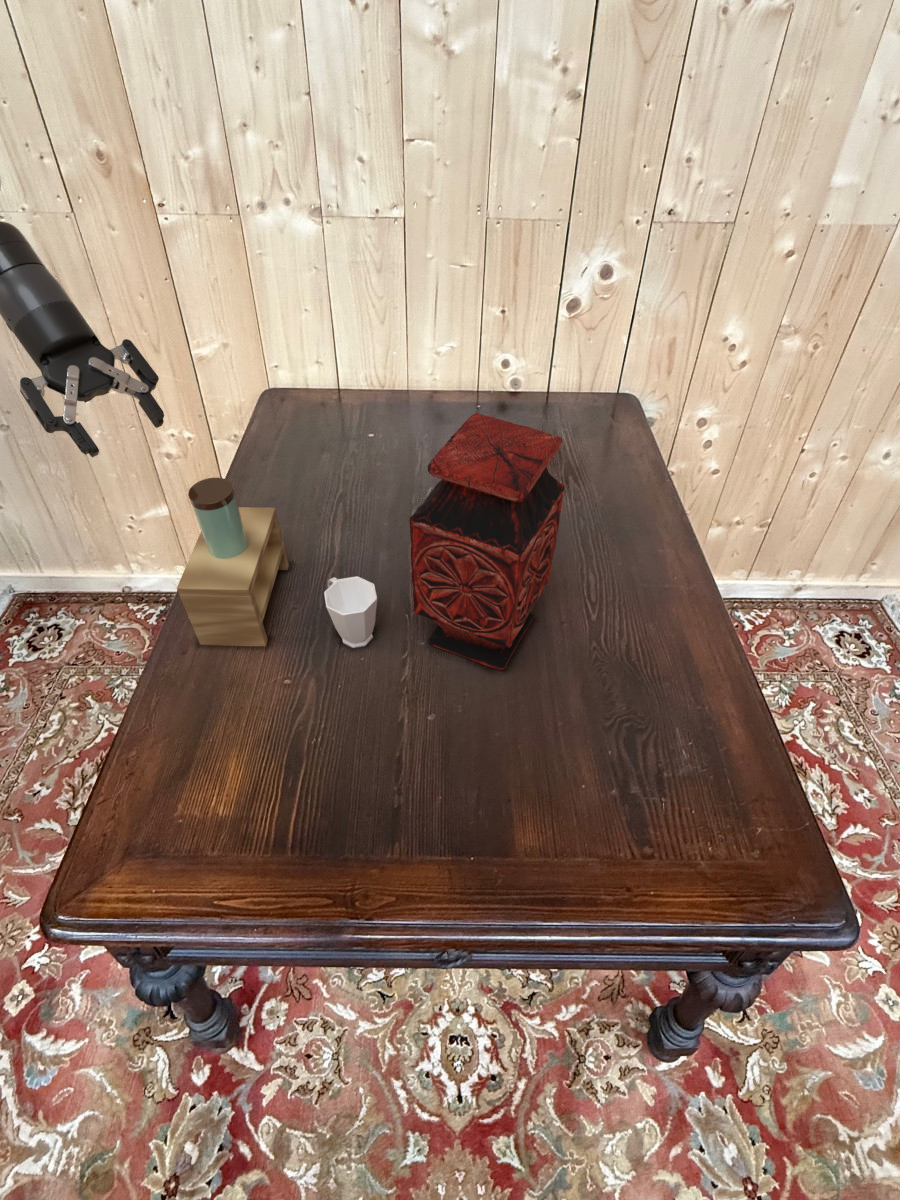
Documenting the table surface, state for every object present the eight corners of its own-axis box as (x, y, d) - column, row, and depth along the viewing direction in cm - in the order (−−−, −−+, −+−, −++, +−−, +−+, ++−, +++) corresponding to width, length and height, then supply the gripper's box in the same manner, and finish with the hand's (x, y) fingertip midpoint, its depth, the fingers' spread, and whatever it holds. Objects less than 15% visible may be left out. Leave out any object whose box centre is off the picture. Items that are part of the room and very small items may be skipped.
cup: (347, 664, 91) (339, 623, 85) (312, 618, 97) (302, 577, 91) (392, 640, 94) (388, 599, 88) (356, 597, 99) (349, 555, 94)
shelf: (266, 646, 93) (248, 589, 85) (200, 645, 93) (176, 588, 85) (289, 564, 104) (275, 507, 96) (230, 563, 104) (211, 506, 96)
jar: (245, 558, 89) (228, 503, 83) (204, 560, 89) (183, 504, 82) (251, 531, 93) (235, 476, 86) (211, 532, 93) (193, 478, 86)
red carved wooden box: (508, 687, 88) (524, 501, 66) (414, 650, 93) (400, 464, 71) (547, 615, 97) (573, 429, 75) (460, 584, 101) (460, 400, 79)
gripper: (-20, 322, 74) (75, 454, 76) (103, 282, 81) (186, 403, 84) (-17, 354, 80) (71, 474, 83) (97, 314, 87) (175, 426, 90)
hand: (129, 439), depth 83 cm, fingers open, 8 cm apart
